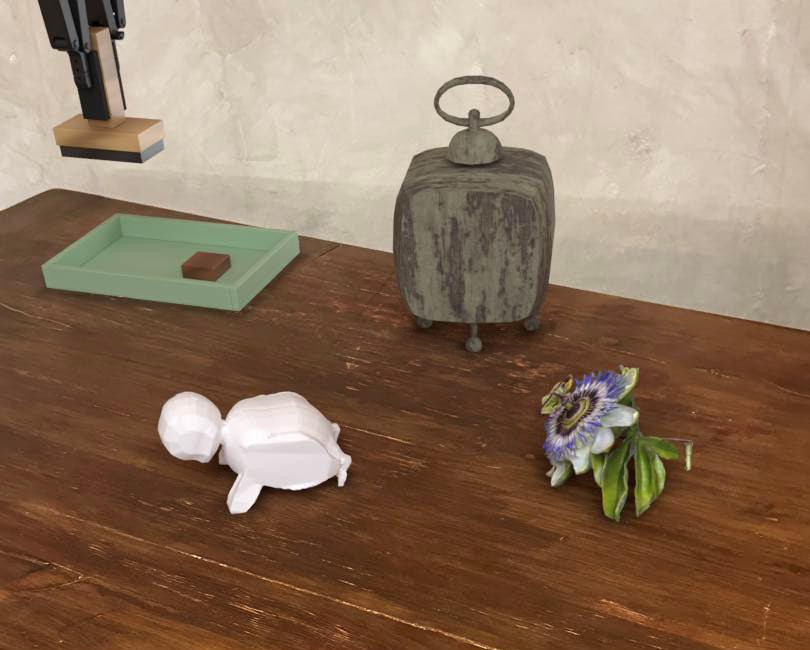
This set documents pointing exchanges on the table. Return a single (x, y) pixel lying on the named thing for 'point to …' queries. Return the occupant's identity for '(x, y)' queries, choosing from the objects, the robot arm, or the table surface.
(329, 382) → the table surface
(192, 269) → the wood chip
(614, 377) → the passion flower
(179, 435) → the white turtle figurine
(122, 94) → the robot arm
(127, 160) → the brush
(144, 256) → the tray
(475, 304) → the tabletop clock
